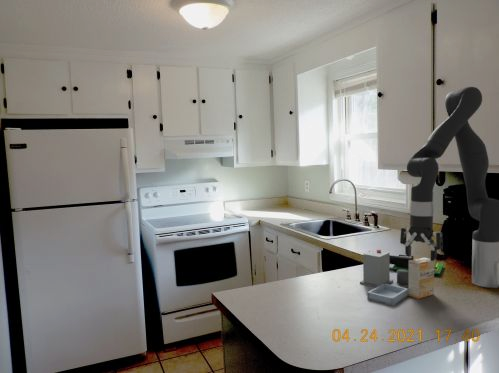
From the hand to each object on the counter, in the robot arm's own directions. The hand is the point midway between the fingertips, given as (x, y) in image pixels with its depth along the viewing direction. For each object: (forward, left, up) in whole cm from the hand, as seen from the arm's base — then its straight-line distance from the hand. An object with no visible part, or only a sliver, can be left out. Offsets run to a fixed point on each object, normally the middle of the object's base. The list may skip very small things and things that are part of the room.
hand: (420, 258), depth 143 cm
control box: (+18, -2, -14) cm, 23 cm away
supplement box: (0, 0, -14) cm, 14 cm away
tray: (+8, +9, -14) cm, 18 cm away
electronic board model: (+19, -29, -14) cm, 37 cm away
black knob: (+10, -8, -14) cm, 19 cm away
